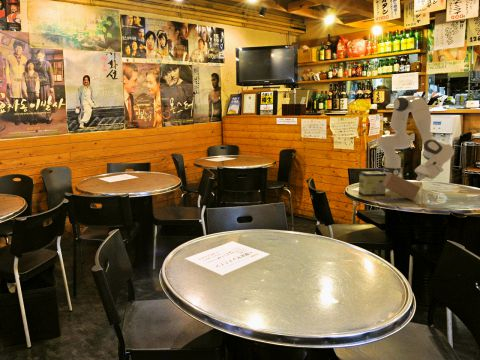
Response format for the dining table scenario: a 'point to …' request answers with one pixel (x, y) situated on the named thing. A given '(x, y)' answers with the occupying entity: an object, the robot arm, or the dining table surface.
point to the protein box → (372, 183)
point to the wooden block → (400, 186)
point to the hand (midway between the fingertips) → (417, 180)
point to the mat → (394, 200)
